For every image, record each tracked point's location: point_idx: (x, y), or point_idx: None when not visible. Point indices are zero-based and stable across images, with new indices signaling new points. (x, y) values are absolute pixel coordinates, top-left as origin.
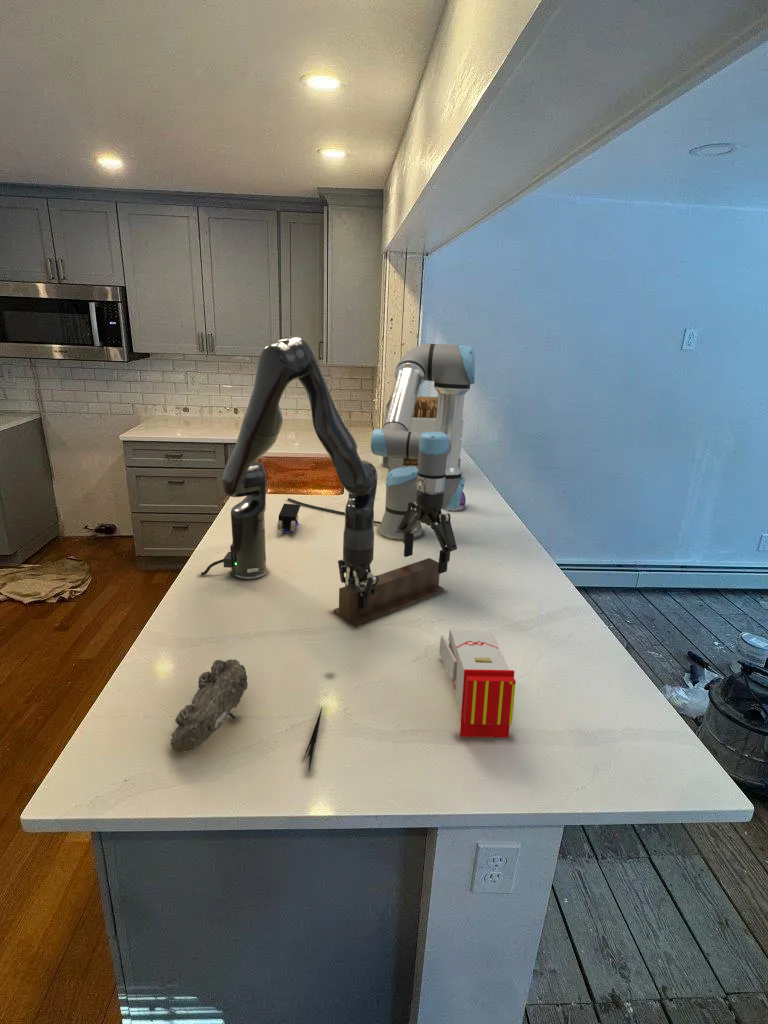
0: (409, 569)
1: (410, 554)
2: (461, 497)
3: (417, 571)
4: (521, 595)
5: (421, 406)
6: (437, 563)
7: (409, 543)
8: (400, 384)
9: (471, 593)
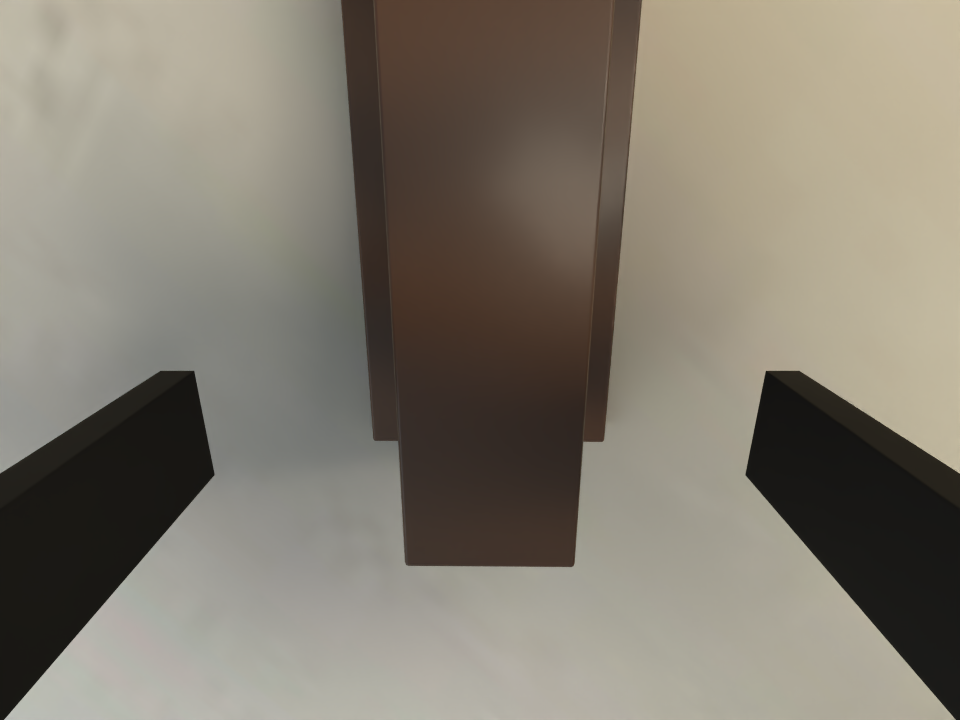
0: (486, 165)
1: (759, 454)
2: None
3: (387, 217)
4: (114, 715)
5: None
6: (418, 540)
7: (874, 527)
8: None
9: (266, 542)
